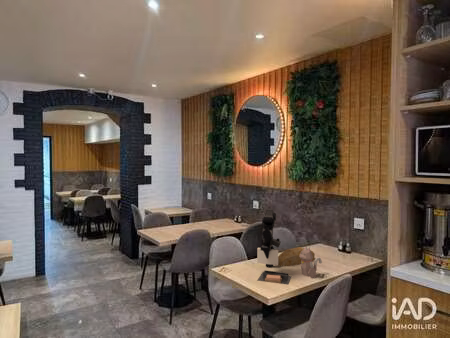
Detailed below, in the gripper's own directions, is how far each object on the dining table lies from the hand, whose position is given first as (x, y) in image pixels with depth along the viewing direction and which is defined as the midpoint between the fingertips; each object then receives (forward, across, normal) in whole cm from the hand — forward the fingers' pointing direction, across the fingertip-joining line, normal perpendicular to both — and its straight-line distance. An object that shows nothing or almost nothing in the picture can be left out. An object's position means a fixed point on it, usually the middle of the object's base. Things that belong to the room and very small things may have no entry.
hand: (267, 258), depth 212 cm
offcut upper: (+10, -11, -6) cm, 16 cm away
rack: (+12, -6, -6) cm, 15 cm away
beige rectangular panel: (+4, 0, 0) cm, 4 cm away
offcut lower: (+11, -11, -6) cm, 17 cm away
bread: (+12, +37, -15) cm, 42 cm away
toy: (+12, +11, -28) cm, 32 cm away
